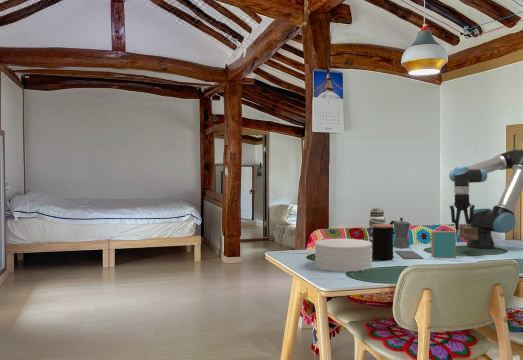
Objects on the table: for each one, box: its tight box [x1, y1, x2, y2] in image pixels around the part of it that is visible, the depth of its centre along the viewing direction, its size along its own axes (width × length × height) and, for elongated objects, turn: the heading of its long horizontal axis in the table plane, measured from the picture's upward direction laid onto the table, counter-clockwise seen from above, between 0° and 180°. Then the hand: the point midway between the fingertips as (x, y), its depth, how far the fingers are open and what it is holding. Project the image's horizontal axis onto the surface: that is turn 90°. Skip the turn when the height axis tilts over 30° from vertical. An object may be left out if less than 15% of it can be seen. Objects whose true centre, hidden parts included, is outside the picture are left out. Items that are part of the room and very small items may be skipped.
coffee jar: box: [372, 223, 394, 261], centre depth 249 cm, size 11×11×18 cm
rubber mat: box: [394, 250, 424, 260], centre depth 258 cm, size 10×22×1 cm, turn 177°
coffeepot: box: [389, 217, 411, 249], centre depth 285 cm, size 15×9×18 cm, turn 33°
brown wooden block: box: [455, 223, 478, 241], centre depth 258 cm, size 18×7×6 cm, turn 177°
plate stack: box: [314, 238, 373, 272], centre depth 233 cm, size 28×28×12 cm
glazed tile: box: [430, 230, 457, 259], centre depth 251 cm, size 12×2×14 cm, turn 87°
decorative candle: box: [368, 207, 386, 251], centre depth 269 cm, size 9×9×25 cm
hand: (462, 235), depth 262 cm, fingers closed on brown wooden block, 3 cm apart
